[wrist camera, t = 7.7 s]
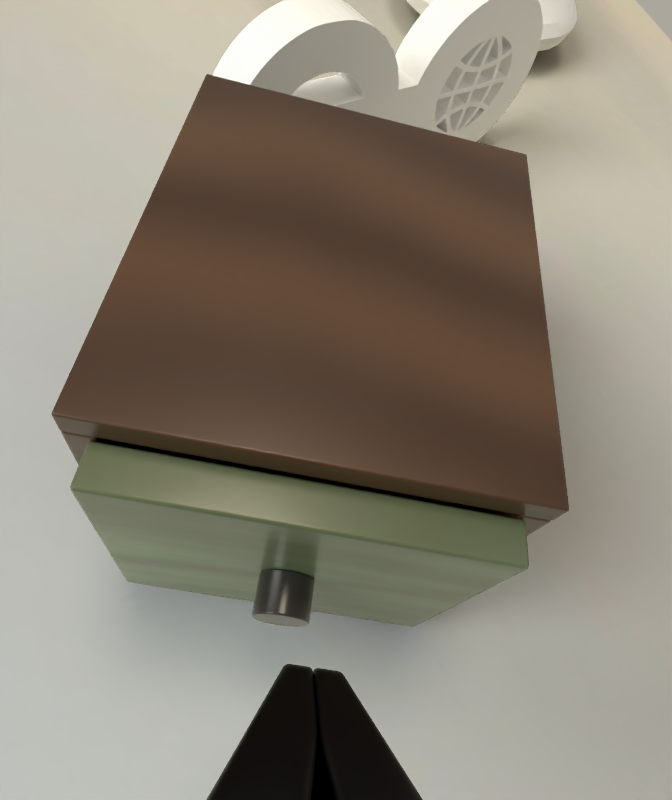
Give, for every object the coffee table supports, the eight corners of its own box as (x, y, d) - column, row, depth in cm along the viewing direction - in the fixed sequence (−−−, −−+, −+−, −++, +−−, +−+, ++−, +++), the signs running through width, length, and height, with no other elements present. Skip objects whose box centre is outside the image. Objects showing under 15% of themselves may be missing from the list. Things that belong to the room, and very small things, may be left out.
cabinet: (422, 600, 21) (570, 510, 12) (123, 551, 20) (49, 414, 11) (430, 332, 29) (527, 153, 20) (209, 285, 27) (206, 72, 18)
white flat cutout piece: (474, 125, 40) (544, -38, 31) (494, 143, 39) (572, -19, 30) (204, 212, 30) (199, 9, 21) (225, 238, 29) (228, 39, 21)
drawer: (412, 663, 19) (535, 623, 12) (114, 618, 18) (45, 544, 11) (423, 355, 27) (503, 211, 19) (210, 310, 26) (208, 140, 18)
